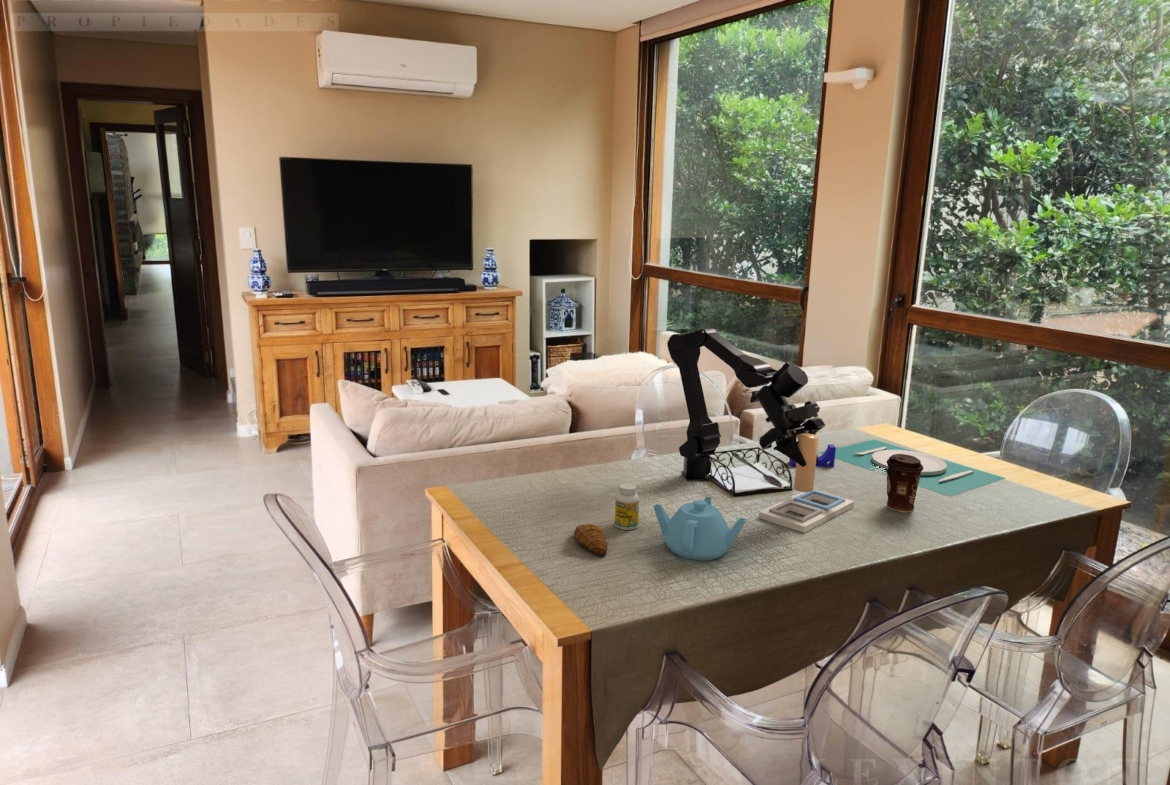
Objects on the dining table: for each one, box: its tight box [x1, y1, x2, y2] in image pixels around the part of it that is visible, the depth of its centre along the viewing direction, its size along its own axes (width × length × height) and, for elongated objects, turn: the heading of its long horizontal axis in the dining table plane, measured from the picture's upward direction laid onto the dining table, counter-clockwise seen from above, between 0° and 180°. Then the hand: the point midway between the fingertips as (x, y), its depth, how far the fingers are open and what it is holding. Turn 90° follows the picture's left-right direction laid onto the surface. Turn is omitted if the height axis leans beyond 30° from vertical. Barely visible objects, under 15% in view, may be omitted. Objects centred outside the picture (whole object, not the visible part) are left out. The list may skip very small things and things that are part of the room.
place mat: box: [818, 439, 1006, 497], centre depth 235 cm, size 45×30×2 cm
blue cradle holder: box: [788, 443, 837, 468], centre depth 232 cm, size 12×4×6 cm, turn 86°
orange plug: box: [793, 434, 819, 493], centre depth 191 cm, size 4×4×13 cm
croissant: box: [573, 523, 608, 557], centre depth 174 cm, size 14×7×5 cm, turn 23°
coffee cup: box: [886, 454, 923, 514], centre depth 200 cm, size 9×8×13 cm
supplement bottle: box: [614, 482, 640, 531], centre depth 184 cm, size 5×5×10 cm
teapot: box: [653, 496, 748, 561], centre depth 173 cm, size 15×15×11 cm
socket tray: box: [758, 488, 855, 534], centre depth 197 cm, size 24×12×2 cm, turn 136°
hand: (811, 464), depth 190 cm, fingers closed on orange plug, 4 cm apart
